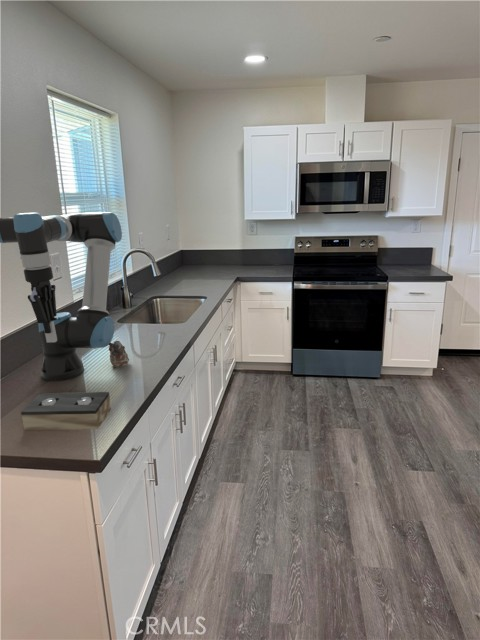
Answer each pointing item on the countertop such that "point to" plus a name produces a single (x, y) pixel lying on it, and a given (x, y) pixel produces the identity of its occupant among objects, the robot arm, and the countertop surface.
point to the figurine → (118, 354)
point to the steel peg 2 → (84, 401)
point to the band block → (66, 411)
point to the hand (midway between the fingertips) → (52, 341)
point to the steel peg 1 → (49, 401)
